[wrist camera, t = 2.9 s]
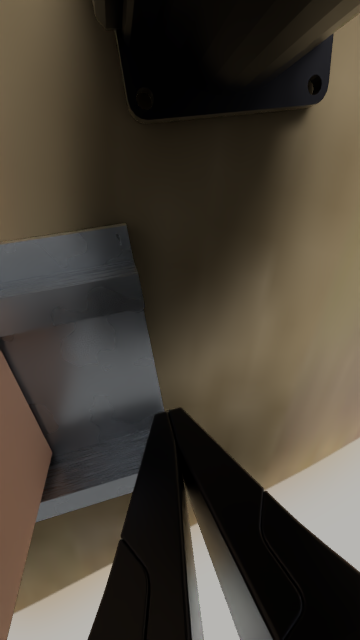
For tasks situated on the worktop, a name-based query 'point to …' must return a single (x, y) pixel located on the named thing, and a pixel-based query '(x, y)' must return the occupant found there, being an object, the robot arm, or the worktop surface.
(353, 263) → the worktop surface
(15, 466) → the block
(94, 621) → the robot arm
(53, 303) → the chute
